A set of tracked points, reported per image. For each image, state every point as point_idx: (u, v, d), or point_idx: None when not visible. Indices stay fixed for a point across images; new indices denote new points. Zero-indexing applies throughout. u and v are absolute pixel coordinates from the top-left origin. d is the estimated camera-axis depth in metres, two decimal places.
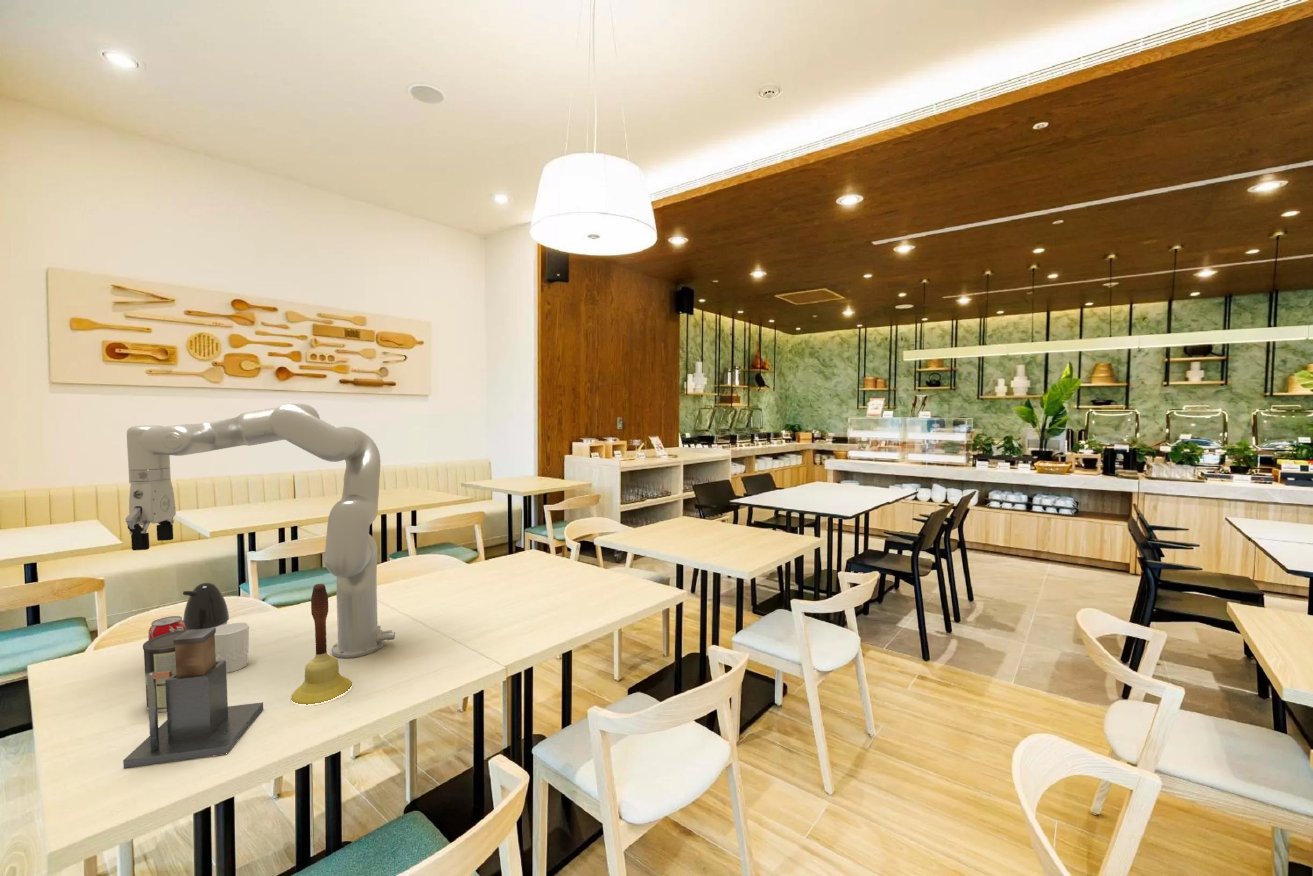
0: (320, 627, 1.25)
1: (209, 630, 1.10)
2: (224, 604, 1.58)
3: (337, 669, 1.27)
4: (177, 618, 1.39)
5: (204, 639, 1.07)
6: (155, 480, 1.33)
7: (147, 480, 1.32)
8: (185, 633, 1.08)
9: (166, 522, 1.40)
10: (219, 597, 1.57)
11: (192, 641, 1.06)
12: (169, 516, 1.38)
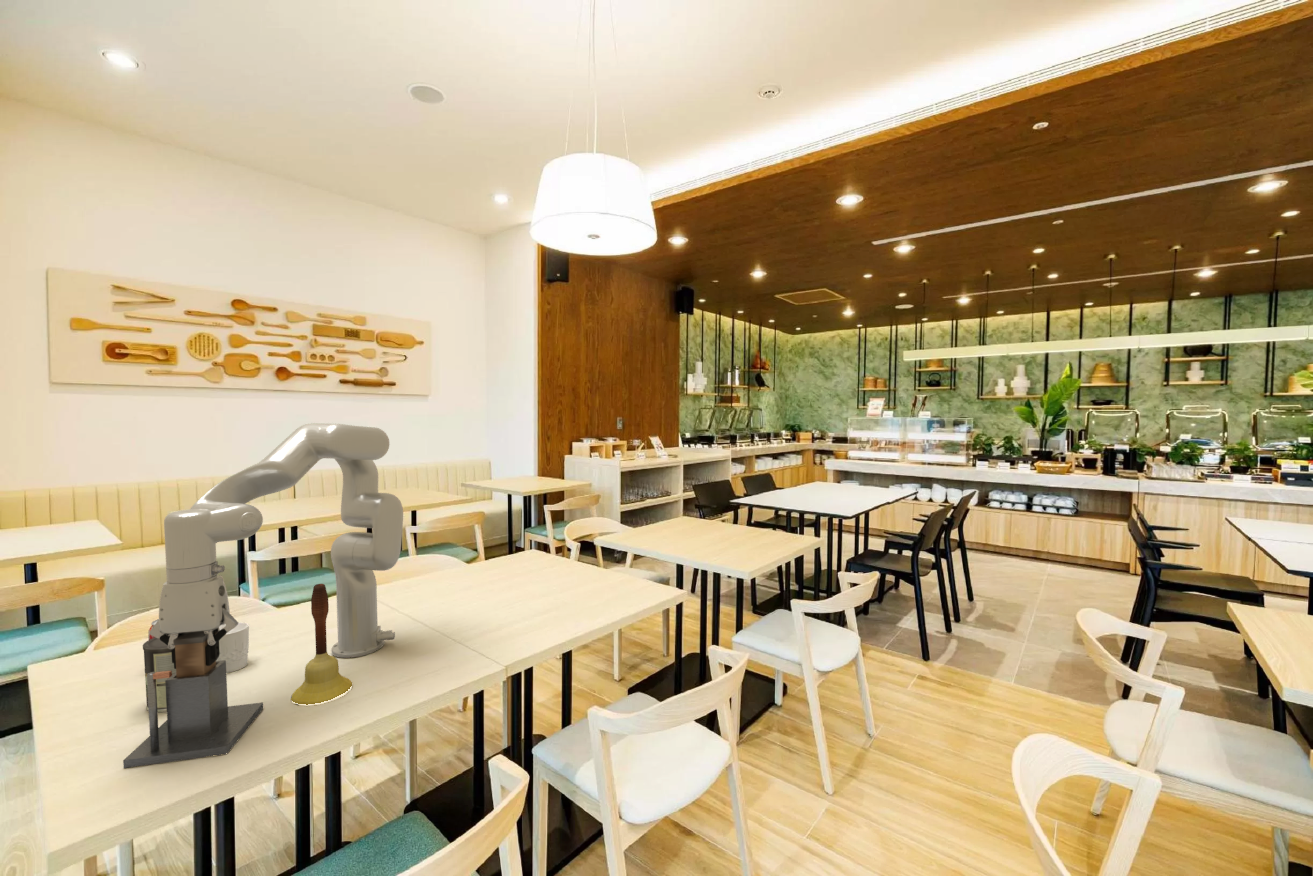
0: (321, 627, 1.25)
1: None
2: None
3: (337, 669, 1.27)
4: None
5: (204, 639, 1.07)
6: None
7: (217, 573, 1.10)
8: (185, 633, 1.08)
9: None
10: None
11: (192, 641, 1.06)
12: None
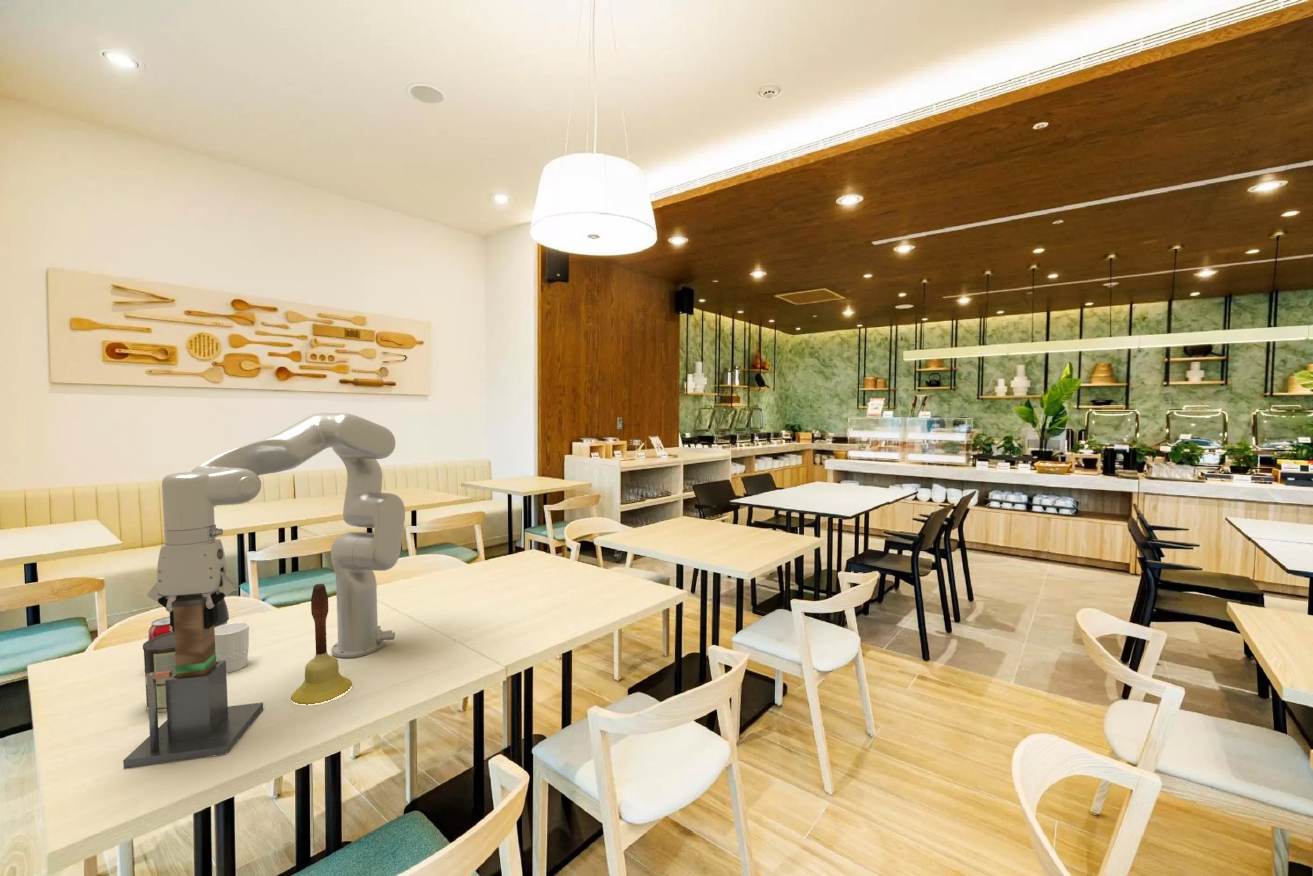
0: (320, 627, 1.25)
1: None
2: (224, 604, 1.58)
3: (337, 669, 1.27)
4: None
5: (202, 602, 1.07)
6: None
7: None
8: (183, 596, 1.08)
9: None
10: None
11: (190, 604, 1.06)
12: None
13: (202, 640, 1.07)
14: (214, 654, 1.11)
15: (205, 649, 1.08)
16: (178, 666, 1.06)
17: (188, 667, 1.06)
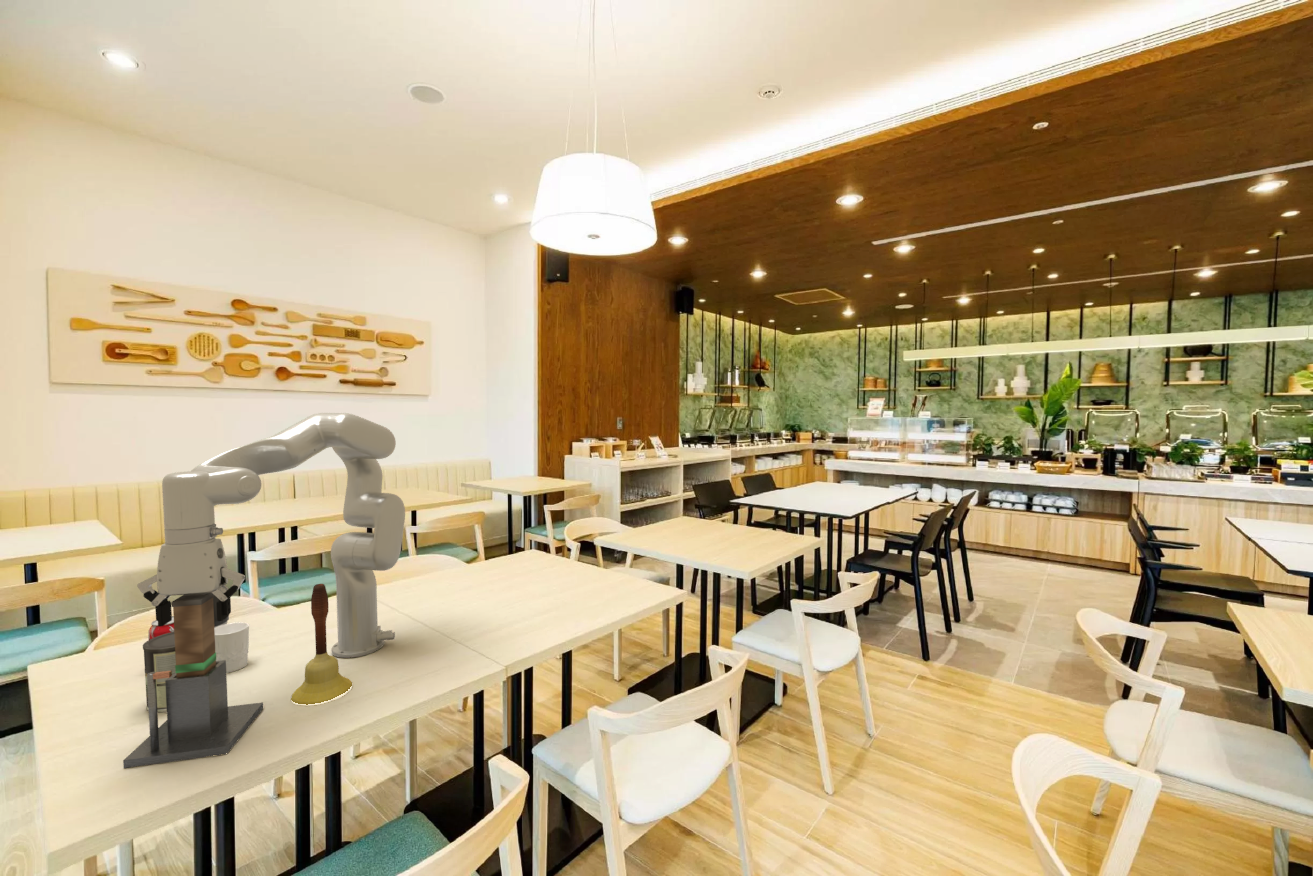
0: (320, 627, 1.25)
1: (207, 593, 1.09)
2: None
3: (337, 669, 1.27)
4: None
5: (202, 601, 1.07)
6: None
7: (215, 536, 1.09)
8: (183, 596, 1.08)
9: (166, 599, 1.07)
10: None
11: (190, 603, 1.06)
12: None
13: (202, 639, 1.07)
14: (214, 654, 1.11)
15: (205, 648, 1.08)
16: (178, 666, 1.06)
17: (188, 667, 1.06)
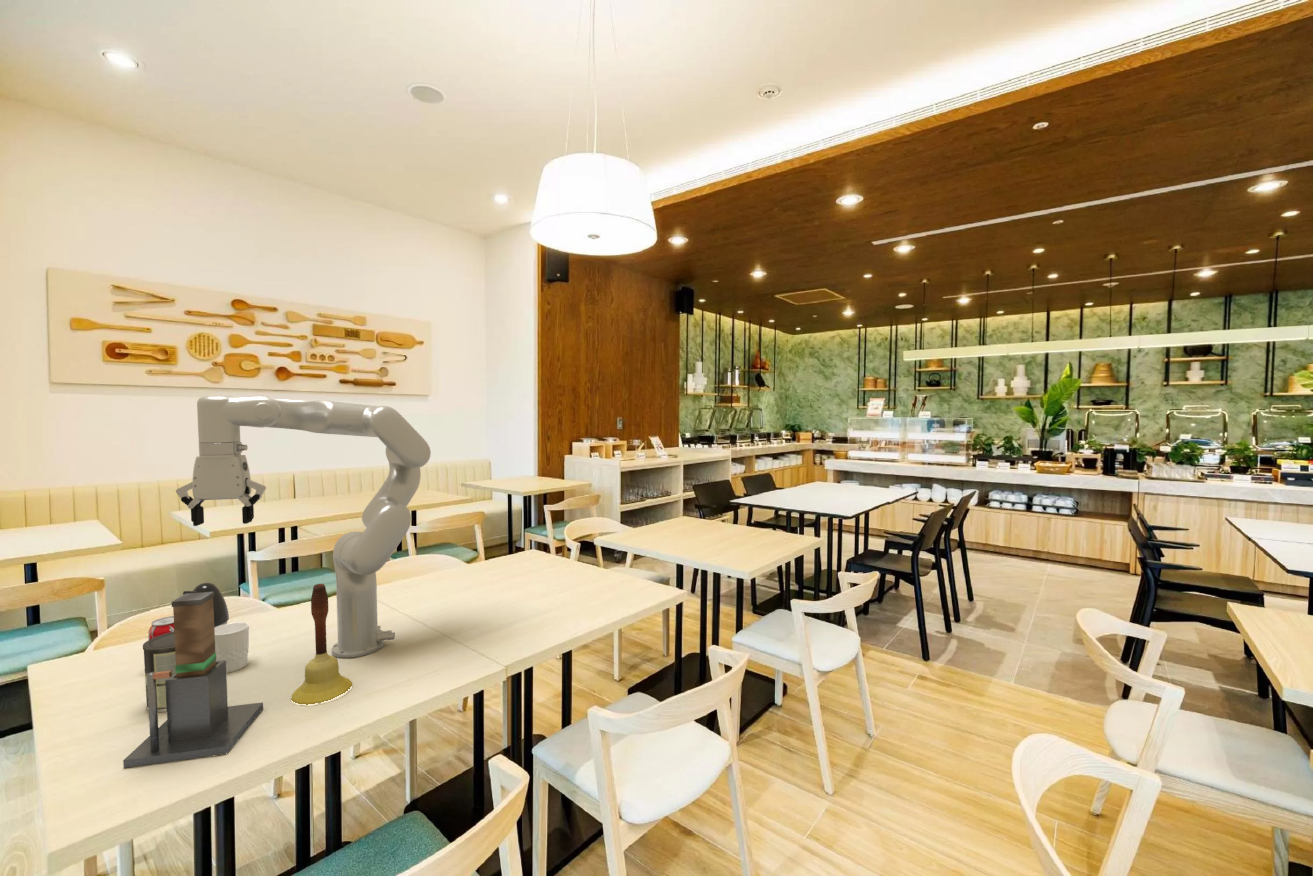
0: (320, 627, 1.25)
1: (207, 593, 1.09)
2: (224, 604, 1.58)
3: (337, 669, 1.27)
4: None
5: (202, 601, 1.07)
6: None
7: (241, 452, 1.29)
8: (183, 596, 1.08)
9: (199, 504, 1.26)
10: (219, 597, 1.57)
11: (190, 603, 1.06)
12: None
13: (202, 639, 1.07)
14: (214, 654, 1.11)
15: (205, 648, 1.08)
16: (178, 666, 1.06)
17: (188, 667, 1.06)
